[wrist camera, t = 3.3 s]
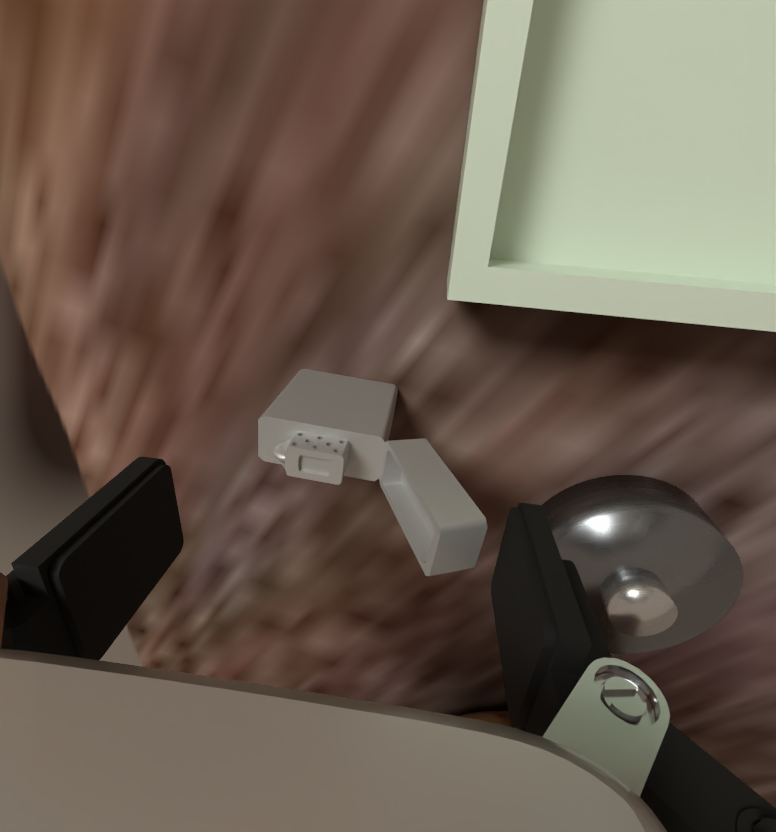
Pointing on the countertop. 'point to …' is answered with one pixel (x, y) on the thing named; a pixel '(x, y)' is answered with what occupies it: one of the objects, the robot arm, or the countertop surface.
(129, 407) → the countertop surface
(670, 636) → the pot lid
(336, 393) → the lighter
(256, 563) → the countertop surface
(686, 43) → the tray
